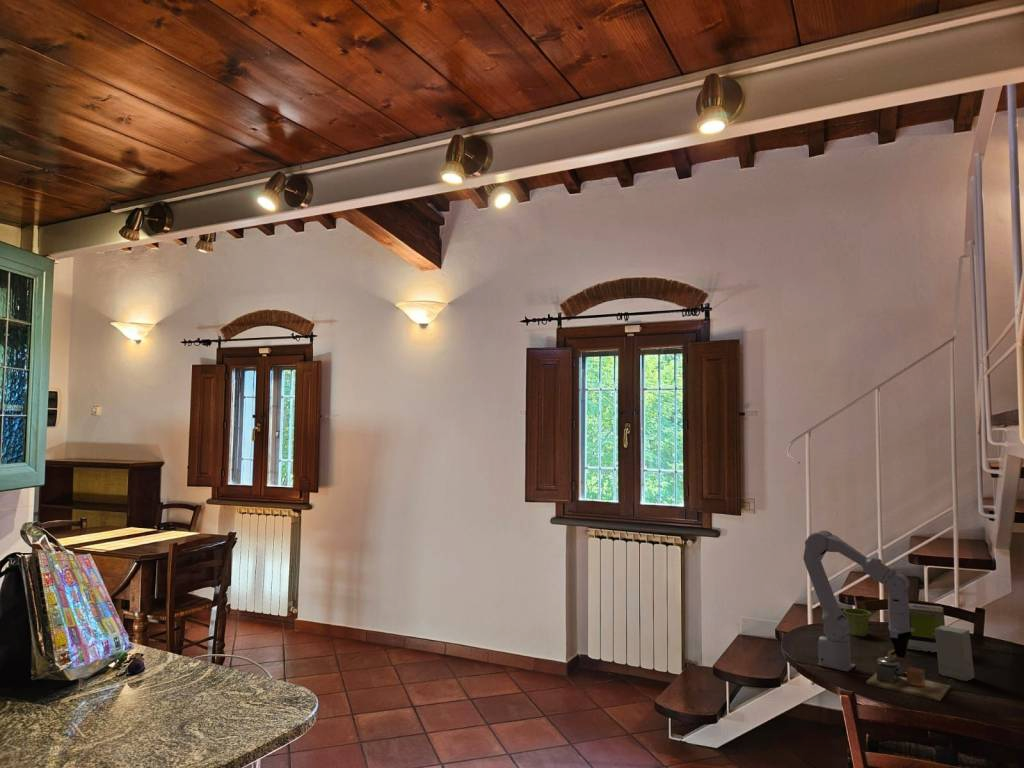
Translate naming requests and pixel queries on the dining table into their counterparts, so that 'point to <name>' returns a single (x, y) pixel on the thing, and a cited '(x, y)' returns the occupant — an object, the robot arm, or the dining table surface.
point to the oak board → (913, 687)
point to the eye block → (887, 673)
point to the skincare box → (954, 652)
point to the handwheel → (889, 659)
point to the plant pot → (858, 621)
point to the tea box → (924, 626)
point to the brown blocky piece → (913, 676)
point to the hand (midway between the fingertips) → (900, 656)
